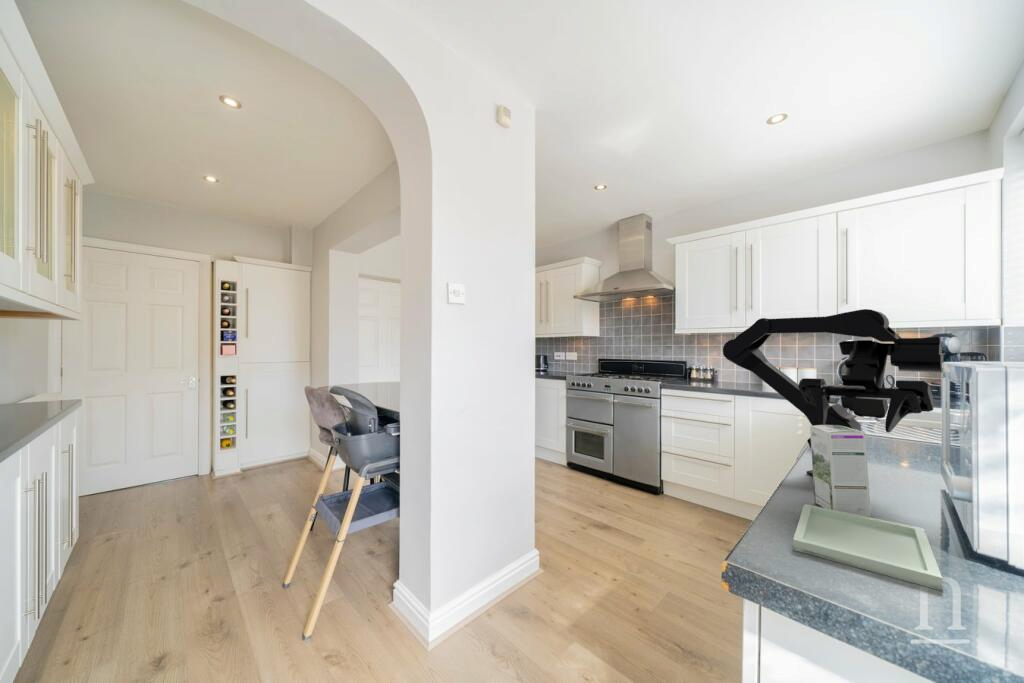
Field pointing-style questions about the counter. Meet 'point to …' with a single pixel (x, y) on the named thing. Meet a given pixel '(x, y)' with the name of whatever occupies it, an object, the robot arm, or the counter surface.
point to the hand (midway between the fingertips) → (853, 427)
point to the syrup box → (840, 469)
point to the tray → (868, 544)
